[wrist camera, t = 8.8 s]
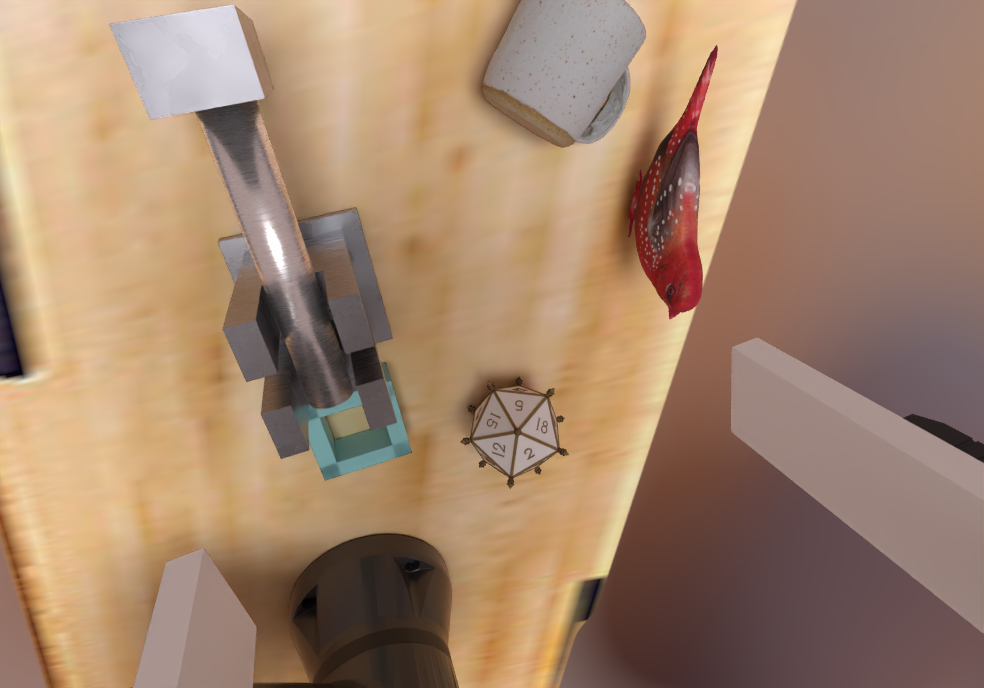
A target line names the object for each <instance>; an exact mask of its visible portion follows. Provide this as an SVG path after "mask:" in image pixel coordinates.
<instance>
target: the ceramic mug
mask: <svg viewBox="0 0 984 688" xmlns="http://www.w3.org/2000/svg"><path fill="white" fill-rule="evenodd" d="M645 38H646V30H645V27H644V24H643V23H642V21H641V19H640V17H639V16H638V15H637V13H636V12H635V11H634V9H633V8H632V7H631V6H630V5H629V4H628V3H627V2H626V1H625V0H521V2H520V3H519V5H518V7H517V9H516V11H515V13H514V15H513V17H512V19H511V21H510V24H509V26H508V28H507V30H506V32H505V34H504V36H503V38H502V40H501V42H500V44H499V46H498V47H497V49H496V51H495V53H494V55H493V56H492V58H491V61H490V63H489V65H488V68H487V71H486V74H485V77H484V80H483V85H482V91H483V95H484V98H485V99H486V100H487V101H488V102H489V103H490V104H492V105H493V106H494V107H496V108H497V109H498V110H500V111H501V112H502V113H504V114H505V115H507V116H508V117H510V118H511V119H513V120H514V121H516V122H518V123H519V124H521V125H522V126H524V127H525V128H527V129H528V130H530V131H532V132H533V133H535V134H536V135H538V136H540V137H541V138H543V139H545V140H547V141H549V142H550V143H552V144H554V145H556V146H559V147H567V146H570V145H572V144H573V143H574V142H575V141H577V142H579V143H586V144H589V143H593V142H595V141H597V140H599V139H601V138H602V137H603V136H605V135H606V134H607V133H608V132H609V131H610V130H611V128H612V127H613V126H614V125H615V123H616V122H617V120H618V119H619V117H620V116H621V114H622V112H623V110H624V108H625V105H626V103H627V100H628V96H629V91H630V74H629V69H628V65H629V63H630V62H631V60H632V59H633V58H634V56H635V55H636V53H637V52H638V50H639V49H640V47H641V45H642V44H643V42H644V40H645ZM611 90H612V91H611ZM610 92H611V94H610V96H609V100H608V101H607V103H606V105H605V106H604V108H603V109H602V111H601V112H600V113H599V114H598V116H597V117H596V119H595V120H594V121H593V122H592V120H593V119H594V117H595V115H596V114H597V112H598V110H599V109H600V107H601V105H602V104H603V102H604V101H605V99H606V97H607V96H608V95H609V93H610ZM591 122H592V123H591ZM590 123H591V124H590ZM589 125H590V126H589ZM588 126H589V127H588ZM587 127H588V128H587Z"/></svg>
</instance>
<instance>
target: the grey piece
mask: <svg viewBox="0 0 984 688" xmlns="http://www.w3.org/2000/svg"><path fill="white" fill-rule="evenodd" d="M109 25H110V27H111V30H112V32H113V34H114V37H115V39H116V41H117V44H118V46H119V48H120V51H121V53H122V55H123V57H124V60H125V62H126V64H127V67H128V69H129V71H130V74H131V76H132V78H133V81H134V83H135V85H136V88H137V90H138V92H139V95H140V97H141V99H142V102H143V104H144V106H145V108H146V111H147V113H148V115H149V118H150V120H152V119H158V118H163V117H168V116H174V115H179V114H184V113H190V112H195V113H196V115H197V118H198V120H199V123H200V125H201V128H202V130H203V133H204V136H205V138H206V141H207V143H208V146H209V148H210V151H211V153H212V156H213V159H214V161H215V164H216V166H217V169H218V171H219V174H220V176H221V179H222V182H223V184H224V187H225V189H226V192H227V194H228V197H229V199H230V202H231V205H232V207H233V210H234V212H235V215H236V217H237V220H238V222H239V225H240V228H241V230H242V233H243V235H244V238H245V240H246V243H247V245H248V248H249V251H250V253H251V256H252V258H253V261H254V263H255V266H256V268H257V271H258V274H259V276H260V279H261V281H262V284H263V286H264V289H265V291H266V294H267V297H268V299H269V302H270V304H271V307H272V309H273V312H274V314H275V317H276V320H277V322H278V325H279V327H280V330H281V332H282V335H283V337H284V340H285V343H286V345H287V348H288V350H289V353H290V355H291V358H292V360H293V363H294V366H295V368H296V371H297V373H298V376H299V378H300V381H301V383H302V386H303V389H304V391H305V394H306V396H307V399H308V401H309V404H310V405H311V406H312V407H313V408H316V409H327V408H332V407H335V406H337V405H340V404H342V403H343V402H345V401H346V400H348V399H349V398H350V397H351V395H352V394H353V391H354V389H353V386H352V383H351V380H350V377H349V374H348V371H347V368H346V365H345V362H344V359H343V356H342V353H341V350H340V347H339V344H338V341H337V338H336V335H335V332H334V329H333V326H332V323H331V320H330V317H329V314H328V311H327V309H326V306H325V303H324V300H323V297H322V294H321V291H320V288H319V285H318V282H317V279H316V276H315V273H314V270H313V267H312V264H311V261H310V258H309V255H308V252H307V249H306V246H305V243H304V240H303V237H302V234H301V231H300V228H299V225H298V222H297V219H296V216H295V213H294V211H293V208H292V205H291V202H290V199H289V196H288V193H287V190H286V187H285V184H284V181H283V178H282V175H281V172H280V169H279V166H278V163H277V160H276V157H275V154H274V151H273V148H272V145H271V142H270V139H269V136H268V133H267V130H266V127H265V124H264V121H263V118H262V115H261V113H260V110H259V107H258V104H257V101H256V100H259V99H264V98H266V97H267V96H268V94H269V93H270V92H271V91H272V90H273V89H274V87H273V84H272V81H271V78H270V74H269V71H268V68H267V65H266V62H265V59H264V56H263V53H262V49H261V46H260V43H259V40H258V37H257V34H256V31H255V27H254V24H253V21H252V20H251V19H250V18H248V17H247V16H246V15H245V14H244V13H243V12H242V11H241V10H239V9H238V8H237V7H236V6H235V5H227V6H221V7H215V8H208V9H202V10H195V11H189V12H182V13H176V14H169V15H163V16H156V17H150V18H143V19H137V20H130V21H124V22H117V23H111V24H109Z"/></svg>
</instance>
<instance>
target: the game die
mask: <svg viewBox="0 0 984 688" xmlns="http://www.w3.org/2000/svg"><path fill="white" fill-rule="evenodd" d="M516 381H517V382H516V384H517V386H511V387H504V388H497V389H495V388H494V387H495V385H493V383H492V382H490V381H488V385H487V387H489V388H488V389H490V390H491V392H490V393H489V394H488V396H487V397H486V398H485V399H484V400H483V401H482V403H481V404H480V405H479V406H478V407H477V408H476V409H475V408H474V406H473V407H472V405H471V406H469V407H467V408H468V410H469V412H474V418H473V424H472V430H471V435H470V438H467V437H466V438H463V440H462V441H461V442H460V443H463V444H465V445H466V444H469V443H470V442H471V443H472V444H473V446H474V447H475V448H476V450H477V451H478V453H479V454H480V456H481V457H482V458H483V460H482V461H481V462H479V468H480V467H484V466H486V463H488V464H489V465H491V466H492V467H494V468H495V469H497V470H498V471H500V472H501V473H503V474H504V475H506V476H508V477H509V479H508V483H507V484H508V486H509V488H510V489H511V487H512V486H513V485H514V480H513V478H514V477H516V476H519V475H521V474H523V473H525V472H528V471H530V470H532V469H534V468H535V472H536V473H537V474H540V473H541V469H540V467H538V466H539V465H541V464H542V463H543V462H545V461H546V460H548V459H549V458H550V457H552V456H553V455H555V454H556V453H557V452H559V453H560V455H563V456H565V455H569V454H568V452H567V451H566V449H564V448H563V449H561V448H560V447H559V435H558V423H557V422H563V420H564V419H565V418H564V417H562V416H560V417H559V416H558V417H557V418H556V415H555V413H554V410H553V407H552V405H551V402H550V399H549V397H550V396H552V395H553V394H554V389H555V388H554V389H549V390H548V391H547V393H546V394H542V393H540V392H537V391H534V390H531V389H528V388H526V387H523V386H521V384H522V381H523V380H521V378H520V377H519V378H518V379H517V380H516Z"/></svg>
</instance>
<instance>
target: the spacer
mask: <svg viewBox="0 0 984 688" xmlns="http://www.w3.org/2000/svg"><path fill="white" fill-rule="evenodd" d="M381 365H382V368H383V372H384V376H385V379H386V383H387V387H388V390H389V394H390V398H391V401H392V405H393V409H394V412H395V416H396V420H397V423H395V424H392V425H388V426H385V427H382V428H379V429H375V430H372V431H371V430H370V429H369V430H366V431H363V432H360V433H356V434H353V435H350V436H347V437H343V438H340V439H337V440H334V437H333V435H332V432H331V429H330V427H329V424H328V421H327V419H326V416H327V415H330V414H334V413H337V412H340V411H344V410H347V409H350V408H354V407H357V406H360V405H362V403H361V400H360V397H359V394H358V391H357V390H355V391H353V394H352V395H351V397H350V398H349V399H348V400H346V401H345V402H343V403H342V404H340V405H337V406H335V407H332V408H327V409H316V408H313V407H312V406H311V405H310V404H308V426H309V442H310V445H311V447H312V450H313V452H314V455H315V457H316V460H317V462H318V465H319V467H320V470H321V472H322V474H323V477H324V479H325V480H328V479H331V478H335V477H338V476H341V475H344V474H347V473H350V472H353V471H356V470H359V469H363V468H366V467H369V466H372V465H375V464H378V463H381V462H384V461H387V460H391V459H394V458H397V457H400V456H403V455H406V454H409V453H412V451H411V448H410V444H409V441H408V437H407V434H406V430H405V427H404V423H403V420H402V417H401V413H400V410H399V406H398V403H397V399H396V396H395V392H394V389H393V386H392V382H391V379H390V375H389V372H388V368H387V365H386V362H385V363H381Z"/></svg>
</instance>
